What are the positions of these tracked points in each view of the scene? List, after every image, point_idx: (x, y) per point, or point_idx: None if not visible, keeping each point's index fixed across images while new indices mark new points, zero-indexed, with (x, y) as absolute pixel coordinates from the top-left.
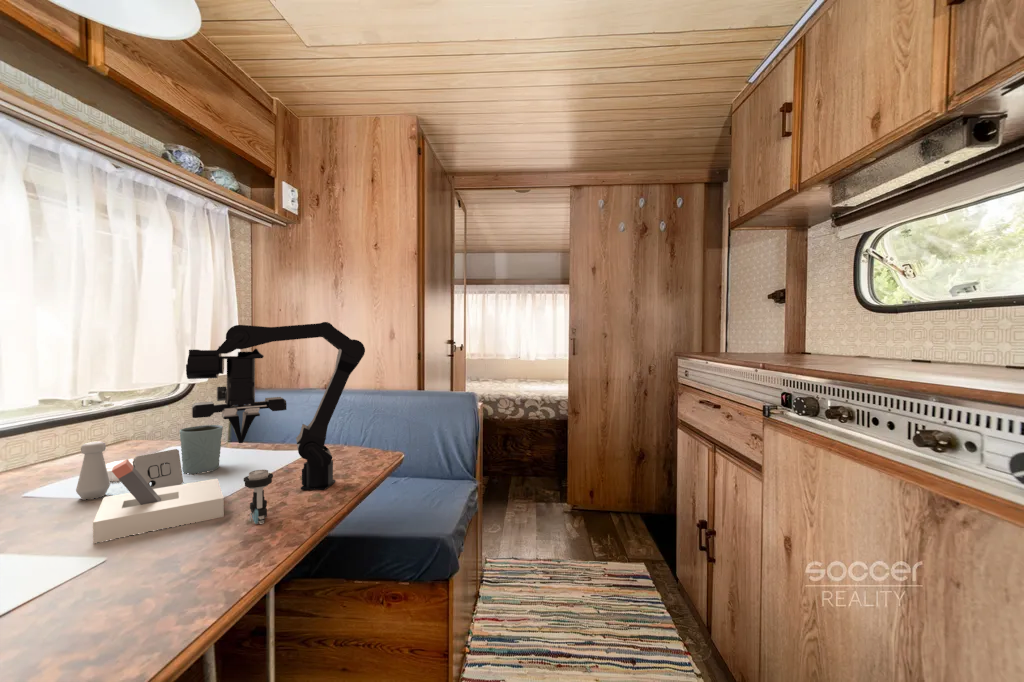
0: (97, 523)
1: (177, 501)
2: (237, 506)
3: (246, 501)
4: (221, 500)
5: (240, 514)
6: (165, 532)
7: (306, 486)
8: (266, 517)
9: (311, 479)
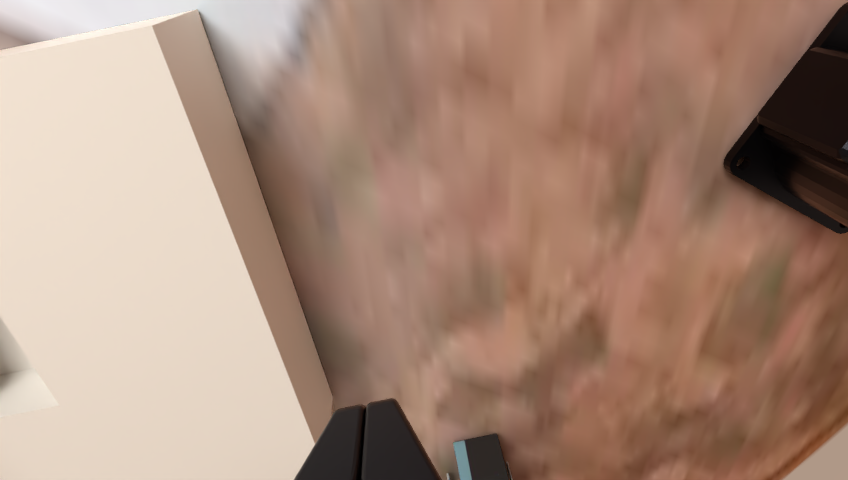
0: None
1: (82, 451)
2: (375, 291)
3: (414, 232)
4: None
5: (402, 395)
6: None
7: (768, 157)
8: (508, 472)
9: (824, 211)
